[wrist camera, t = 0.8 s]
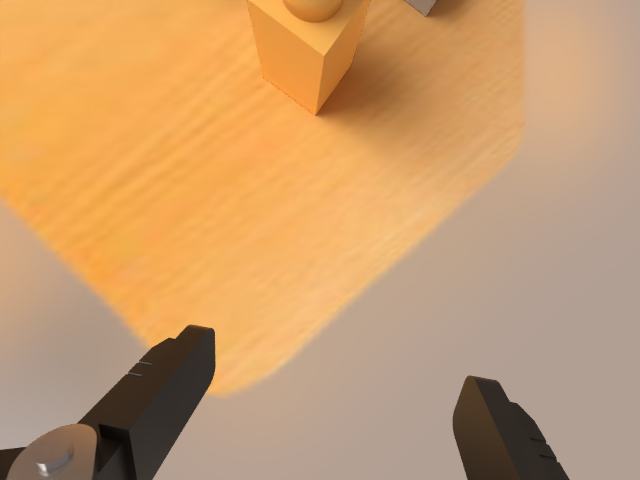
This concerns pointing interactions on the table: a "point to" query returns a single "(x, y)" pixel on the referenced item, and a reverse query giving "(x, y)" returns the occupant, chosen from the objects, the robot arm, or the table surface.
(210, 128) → the table surface
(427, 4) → the gray cube with knob
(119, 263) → the table surface
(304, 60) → the orange toy brick
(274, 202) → the table surface
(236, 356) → the table surface
